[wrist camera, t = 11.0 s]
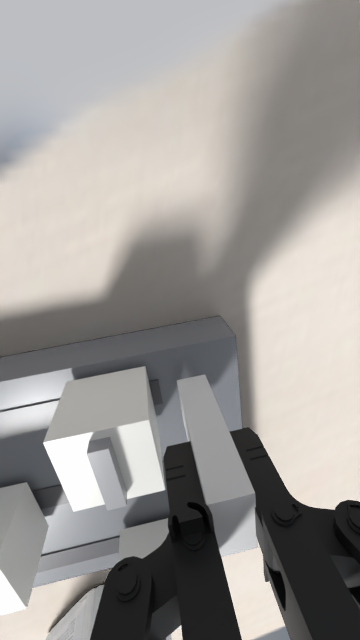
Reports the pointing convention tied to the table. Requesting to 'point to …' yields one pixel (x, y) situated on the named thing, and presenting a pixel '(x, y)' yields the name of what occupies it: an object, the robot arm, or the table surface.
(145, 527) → the slider
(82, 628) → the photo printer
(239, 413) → the console
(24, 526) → the slider mid
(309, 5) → the table surface
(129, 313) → the table surface
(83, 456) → the slider
